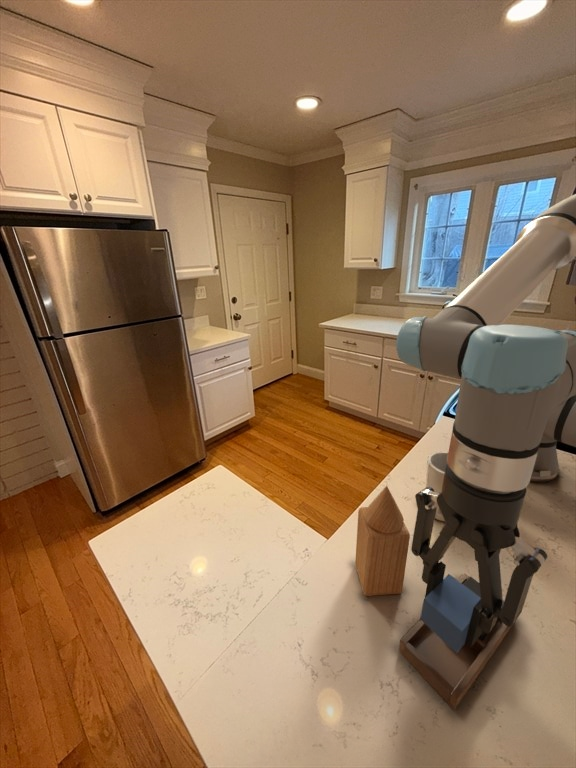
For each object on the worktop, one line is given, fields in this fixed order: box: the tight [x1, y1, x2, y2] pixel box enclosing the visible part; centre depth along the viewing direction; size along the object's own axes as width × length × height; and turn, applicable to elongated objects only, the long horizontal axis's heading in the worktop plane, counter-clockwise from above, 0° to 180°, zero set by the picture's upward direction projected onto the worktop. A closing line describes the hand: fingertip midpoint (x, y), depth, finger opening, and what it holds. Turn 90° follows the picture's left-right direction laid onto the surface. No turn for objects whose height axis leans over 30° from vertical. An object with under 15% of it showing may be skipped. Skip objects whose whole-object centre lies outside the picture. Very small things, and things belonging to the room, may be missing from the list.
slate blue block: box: [419, 573, 481, 653], centre depth 42 cm, size 6×5×4 cm
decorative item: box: [354, 485, 411, 597], centre depth 53 cm, size 7×7×20 cm
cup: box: [425, 451, 449, 523], centre depth 69 cm, size 10×9×12 cm
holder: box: [398, 572, 513, 710], centre depth 47 cm, size 17×8×2 cm, turn 126°
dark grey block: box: [463, 576, 505, 641], centre depth 49 cm, size 6×5×4 cm
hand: (451, 619), depth 42 cm, fingers closed on slate blue block, 5 cm apart
